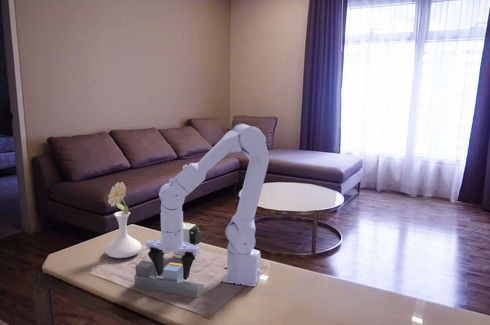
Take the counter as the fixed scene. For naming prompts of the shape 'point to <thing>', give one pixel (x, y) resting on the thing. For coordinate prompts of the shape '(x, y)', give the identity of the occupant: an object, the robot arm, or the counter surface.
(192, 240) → the pneumatic valve
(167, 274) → the block
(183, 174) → the robot arm
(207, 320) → the counter surface
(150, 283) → the rail
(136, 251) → the flower in vase
